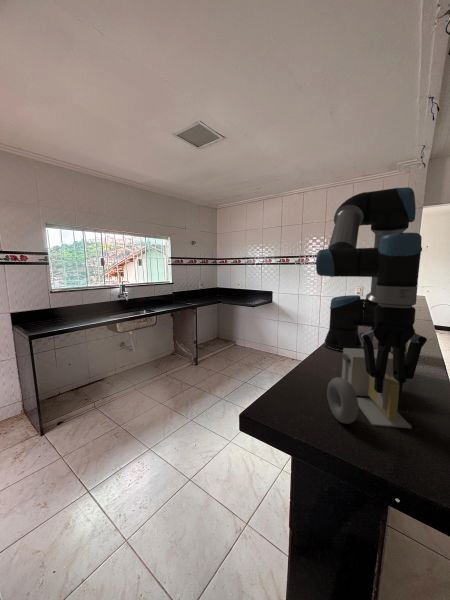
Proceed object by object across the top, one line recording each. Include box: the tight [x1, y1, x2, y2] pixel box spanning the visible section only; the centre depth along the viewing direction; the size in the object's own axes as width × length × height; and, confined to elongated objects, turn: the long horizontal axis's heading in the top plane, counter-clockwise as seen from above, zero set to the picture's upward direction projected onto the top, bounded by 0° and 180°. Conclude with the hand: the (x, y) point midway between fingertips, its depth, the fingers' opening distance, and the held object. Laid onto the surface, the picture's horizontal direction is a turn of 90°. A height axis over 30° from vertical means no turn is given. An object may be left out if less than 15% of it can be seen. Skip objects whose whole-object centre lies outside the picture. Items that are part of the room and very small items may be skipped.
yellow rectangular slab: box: [368, 373, 400, 420], centre depth 61 cm, size 2×11×8 cm, turn 172°
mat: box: [357, 397, 413, 429], centre depth 62 cm, size 12×8×1 cm, turn 172°
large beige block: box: [341, 348, 394, 397], centre depth 73 cm, size 8×13×11 cm, turn 82°
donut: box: [326, 376, 359, 425], centre depth 58 cm, size 10×4×10 cm, turn 4°
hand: (386, 405), depth 59 cm, fingers closed on yellow rectangular slab, 2 cm apart
